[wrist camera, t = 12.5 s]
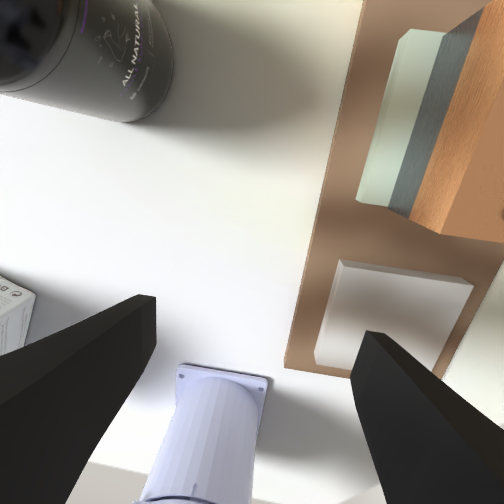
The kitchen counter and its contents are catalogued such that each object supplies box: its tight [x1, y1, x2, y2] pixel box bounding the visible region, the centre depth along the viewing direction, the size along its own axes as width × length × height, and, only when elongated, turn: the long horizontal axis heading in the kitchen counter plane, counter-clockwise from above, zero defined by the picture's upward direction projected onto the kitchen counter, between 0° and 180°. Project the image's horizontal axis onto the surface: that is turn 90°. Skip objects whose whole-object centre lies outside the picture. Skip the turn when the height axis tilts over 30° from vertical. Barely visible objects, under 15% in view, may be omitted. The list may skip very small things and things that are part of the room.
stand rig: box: [284, 0, 504, 380], centre depth 16 cm, size 24×12×2 cm, turn 173°
